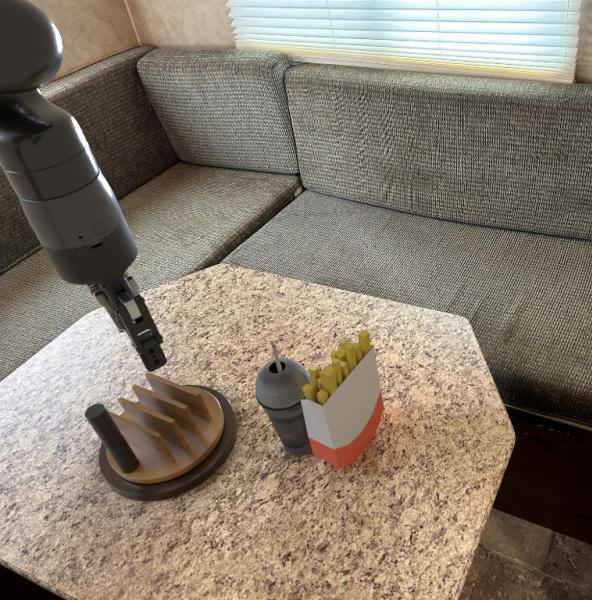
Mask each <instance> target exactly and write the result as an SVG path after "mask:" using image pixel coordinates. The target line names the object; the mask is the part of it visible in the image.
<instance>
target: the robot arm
mask: <svg viewBox="0 0 592 600" xmlns="http://www.w3.org/2000/svg"><path fill="white" fill-rule="evenodd" d="M63 59H64V45H63V41H62V37H61V34H60V32H59V30H58V28H57V26H56V25H55V23H54V22H53V20H52V19H51V18H50V17H49V16H48V15H47V14H46V12H44V11H43V10H42V9H41V8H40V7H39V6H37V5H36V4H34V3H33V2H32V1H30V0H0V167H1V169H2V171H3V173H4V174H5V177H6V178H7V180H8V182H9V184H10V185H11V187H12V189H13V190H14V192H15V194H16V195H17V197H18V199H19V203H20V205H21V208H22V210H23V213H24V215H25V218H26V219H27V221H28V224H29V225H30V227H31V228H32V231H33V232H34V234H35V235H36V237H37V239H38V241H39V243H40V244H41V246H42V248H43V250H44V252H45V253H46V255H47V257H48V259H49V260H50V262H51V264H52V266H53V268H54V269H55V271H56V273H57V274H58V276H59V278H60V279H61V280H63V281H64V282H66V283H69V284H71V285H75V286H76V285H77V286H86V288H87V289H88V291H89V293H90V294H91V295H92V296H93V298H94V299H95V301H96V302H97V303H98V305H99V307H101V308H102V309H104V310H105V311H106V313H107V315H108V316H109V318H110V320H111V321H112V323H113V325H114V327H115V328H116V329H117V331H118V333H125V334H126V336H127V338H128V339H129V341H130V345H131V347H132V348H134V349H135V351H136V353H137V354H138V356H139V359H140V360H141V362H142V364H143V366H144V368H145V369H146V371H147V372H149V373H153V372H155V371H157V370H158V369H160V368H162V367H164V366H166V365H167V363H168V358H167V356H166V355H165V352H164V350H163V348H162V346H161V345H162V344H163V343H164V342H165V341H164V337H163V335H162V334H161V333H160V331H159V329H158V327H157V324H156V323H155V321H154V318H153V317H152V315H151V311H150V309H149V307H148V305H147V304H146V299H145V298H144V296H142V295H141V294H140V292H139V290H140V289H139V285H138V283H137V282H136V280H135V278H134V277H133V275H132V274H130V275H129V273H128V272H127V270H128V269H129V268H130V267H131V266H132V265H133V263H135V261H136V260H137V257H138V254H139V248H138V245H137V243H136V240H135V238H134V236H133V233H132V231H131V229H130V226H129V225H128V222H127V220H126V218H125V215H124V213H123V211H122V208H121V206H120V204H119V203H118V199H117V197H116V196H115V192H114V191H113V189H112V187H111V186H110V184H109V183H108V180H107V179H106V177H105V176H104V174H103V173H102V170H101V169H100V167H99V165H98V163H97V160H96V158H95V156H94V154H93V152H92V149H91V147H90V145H89V142H88V140H87V137H86V136H85V134H84V132H83V129H82V128H81V126H80V124H79V123H78V121H77V120H76V118H75V117H74V116H73V115H72V114H71V113H69V112H68V111H66V110H65V109H64V108H61V107H60V106H58V105H56V104H54V103H53V102H51V101H50V100H48V99H47V98H46V97H45V96H44V94H43V93H42V92H41V91H40V89H41V88H43V87H45V86H46V85H48V84H49V83H50V82H51V81H52V80H54V78H55V77H56V75H57V74H58V72H59V71H60V68H61V66H62V63H63Z"/></svg>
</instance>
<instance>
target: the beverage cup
mask: <svg viewBox="0 0 592 600" xmlns="http://www.w3.org/2000/svg"><path fill="white" fill-rule="evenodd" d="M271 348H272V352H273V356H274V359H272V360H270V361H268V362H266V363H265V364H264V365H263V366H262V367H261V369H260V370H259V371H258V373H257V376H256V379H255V383H254V384H255V385H254V386H255V399H256V401H257V403H258V404H259V405H260V406H261V408H262V409H263V411H264V412H265V413H266V414H267V416H268V419H269V420H270V423H271V424H272V426H273V428H274V430H275V432H276V434H277V436H278V438H279V439H280V441H281V444H282V445H283V447H284V448H285V450H286V452H287V453H288V455H290V456H293V457H305V456H307V455H309V454H311V453H313V451H312V447H311V444H310V441H309V438H308V433H307V428H306V423H305V419H304V414H303V409H302V404H301V399H306V397H305V395H304V392H303V389H302V388H303V387H304V386H305V385H306V384H309V385H310V386H311V382H310V376H309V372H308V371H307V370H306V368H305V367H304V365H302V364H301V363H300V362H298V361H296V360H295V359H292V358H288V357H280V356H279V351H278V348H277V344H271Z"/></svg>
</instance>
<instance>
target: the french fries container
mask: <svg viewBox="0 0 592 600" xmlns="http://www.w3.org/2000/svg"><path fill="white" fill-rule="evenodd" d="M370 335H371V334H370V331H368V330H364V329H361V330H360V331H359V332H358V334H357V339H358V342H356V341H353V342H349V341H348V340H347V339H346V338H344V337H342V338H341V339H339V340H338V345H339V347H340V348H338V349H332V351H331V352H330V353H329V354H330V358H331V363H329V364H328V365H324V366H323V368H321V370H320V368H319V367H318V366H315V365H311V366H310V367H308V374H309V376H310V382H311V386H310V385H309V384H306V385H305V386H304V387H303V388H302V389H303V392H304V395H305V397H306V399H301V404H302V409H303V414H304V419H305V423H306V428H307V433H308V438H309V441H310V444H311V447H312V453H313V456H315V457H316V458H319V459H320V460H322V461H324V462H325V463H326V462H327V463H328V464H330V465H332V466H334V467H336V468H343V467H346V466H349V465H352V464H354V463H355V462H356V461H357V460H358V458H359V457H360V455H361V454H362V453H363V451H364V450H365V449H366V447H367V446H368V445H369V443H370V442H371V440H372V439H373V438H374V437H375V435H376V434H377V431H378V428H379V425H380V421H381V419H382V416H383V413H384V410H385V406H384V401H383V395H382V388H381V382H380V376H379V369H378V363H377V358H376V353H375V346H374V345H373V344H371V336H370Z"/></svg>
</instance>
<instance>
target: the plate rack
mask: <svg viewBox="0 0 592 600" xmlns="http://www.w3.org/2000/svg"><path fill="white" fill-rule="evenodd" d="M144 376H145V378H146V380H147V382H148V384H149V385H150V387H151V389H152V390H150V389H148V388H145V387H142V386H140V385H138V384H135V383H134V384H133V385H132V386H131V390H132V391H133V392H134V395H135V396H136V397H137V399H138V401H136V402H137V403H136V402H134V401H132V400H130V399H127V398H125V397H122V396H120V397H119V398H118V399H117V401H118V403H119V404H120V406H121V408H122V409H123V412H124V411H125V412H124V414H123V415H122V416H120V415H119V414H117V413H114V412H112V411H110V410H108V408H107V407H106V405H105V404H104V403H101V402H100V403H93V404H91V405H89V406H88V407H87V408H86V409H85V411H84V418H85V419H86V420H87V422H88V424H89V425H90V427H91V428H92V429H93V431H94V432H95V434H96V435H97V437H98V438H99V440H100V441H101V443H103V444H104V446H105V447H106V454H107V459H108V461H109V464H110V465H111V467H112V468H113V469H114V471H115V472H116V473H117V474H118V475H119V476H121V477H122V478H124V479H126V480H129V481H131V482H136V483H144V484H146V483H158V482H163V481H167V480H170V479H173V478H175V477H178V476H180V475H182V474H184V473H186V472H187V471H189V470H191V469H192V468H194V467H195V466H197V465H198V464H199V463H200V462H202V461H203V460H204V459H205V458H206V457H207V456H208V455H209V454H210V453H211V451H212V450H213V449H214V447H215V446H216V444H217V442H218V441H219V439H220V436H221V434H222V431H223V426H224V415H223V411H222V409H221V406H220V404H219V402H218V401H217V399H216V398H215V397H214V396H213V395H211V394H210V393H209V392H207V391H205V390H202V389H199V388H195V387H184V386H182V385H183V384H180V383H177V382H174V381H172V380H170V379H166V378H164V377H161V376H160V375H157V374H154V373H153V372H149V371H147V372H146V373H145V374H144Z"/></svg>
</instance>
